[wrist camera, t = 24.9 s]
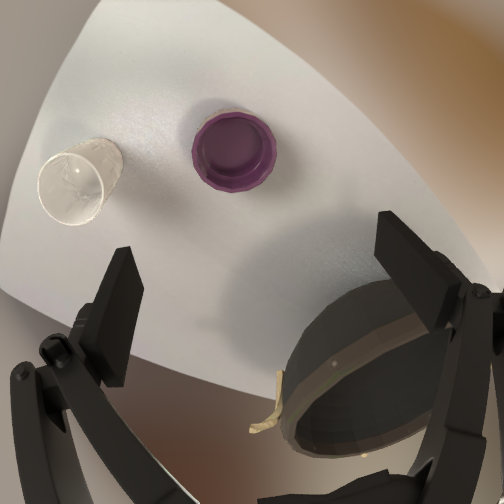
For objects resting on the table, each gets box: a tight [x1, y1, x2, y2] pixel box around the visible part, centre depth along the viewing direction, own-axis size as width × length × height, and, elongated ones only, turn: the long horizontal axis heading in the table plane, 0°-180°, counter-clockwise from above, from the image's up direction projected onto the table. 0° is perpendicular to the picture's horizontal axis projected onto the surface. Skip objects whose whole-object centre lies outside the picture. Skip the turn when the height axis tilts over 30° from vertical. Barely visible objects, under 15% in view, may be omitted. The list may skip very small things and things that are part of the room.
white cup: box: [37, 138, 123, 226], centre depth 32 cm, size 8×8×10 cm
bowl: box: [250, 279, 492, 458], centre depth 47 cm, size 35×35×20 cm
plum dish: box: [192, 108, 277, 193], centre depth 35 cm, size 9×9×5 cm
